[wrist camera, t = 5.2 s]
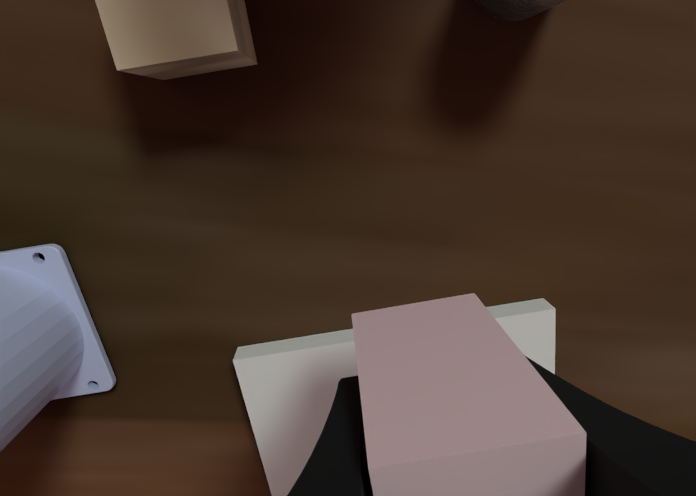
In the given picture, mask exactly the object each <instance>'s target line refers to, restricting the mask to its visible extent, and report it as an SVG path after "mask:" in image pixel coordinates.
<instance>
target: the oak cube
mask: <svg viewBox="0 0 696 496" xmlns="http://www.w3.org/2000/svg"><path fill="white" fill-rule="evenodd" d="M95 1H96V5H97V8H98V11H99V14H100V17H101V21H102V24H103V27H104V30H105V33H106V37H107V40H108V43H109V46H110V50H111V53H112V56H113V59H114V62H115V66H116V69H117V70H118V71H122V72H127V73H132V74H137V75H142V76H147V77H151V78H156V79H161V80H166V79H172V78H178V77H184V76H190V75H197V74H203V73H209V72H215V71H221V70H227V69H233V68H239V67H245V66H251V65H257V59H256V54H255V49H254V44H253V40H252V35H251V30H250V25H249V20H248V16H247V11H246V6H245V1H244V0H95Z"/></svg>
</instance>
